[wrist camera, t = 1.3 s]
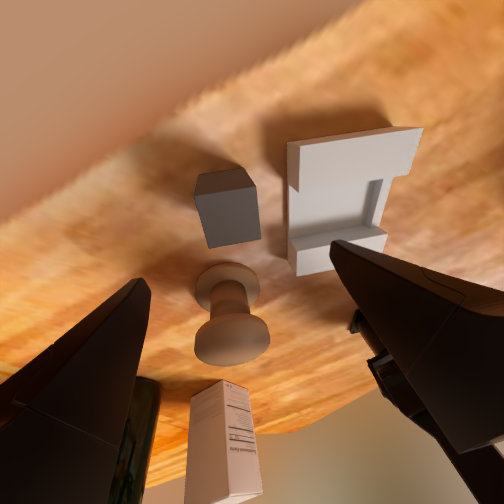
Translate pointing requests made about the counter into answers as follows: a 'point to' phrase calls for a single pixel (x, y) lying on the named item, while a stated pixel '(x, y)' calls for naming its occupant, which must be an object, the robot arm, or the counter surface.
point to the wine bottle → (136, 444)
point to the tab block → (227, 207)
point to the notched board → (342, 191)
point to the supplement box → (221, 447)
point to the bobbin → (229, 316)
